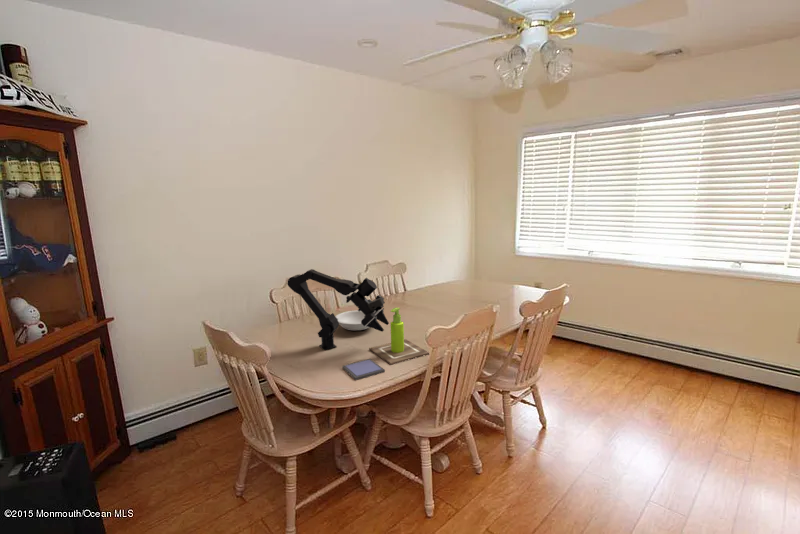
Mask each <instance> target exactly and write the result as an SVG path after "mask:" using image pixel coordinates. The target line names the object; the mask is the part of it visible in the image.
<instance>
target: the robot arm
mask: <svg viewBox="0 0 800 534" xmlns="http://www.w3.org/2000/svg"><path fill="white" fill-rule="evenodd" d="M309 280H312V281H313V282H317V283H320V284H322V285H325V286H327V287H330V288H332V289H334V290H335V291H336V292H337V293H339V294H341V295H343V296H346V297H345V298H346V302H345V303H347V304H348V303H349V302H352V304H354V306H356V308H358V309H357V310H358V311H361V312H362V313H363V314H364V315H365V316H364V318H363V319H362V321H361V324H362V325H363V326H365V325H366V324H367V325H366V327H367V326H368V327H369V328H371V329H375V330H377V331H379V332H382V333H383V332H384V331H385V329H384V328H383V327H382V325H381V323H382V324H385V325H389V324H390V323H389V321H388V319H387V317H386V315H385V312H384V311H385V307H384V306H385V298H384V297H383V296H381V294H380V295H377V296H376V297H375V299H373V300H372V299H367V298H366V297H370V295H372V294H373V293H374V292H375V291H376V289H378V286H377V284H376V283H375V282H374V281H373V280H371V279H370V278H368V277H365V278H364V279H362V282H360V283H356V282H354V281H353V280H349V279H344V278H336V277H333V276H331V275H327V274H325V273H322V272H320V271H317V270H315V269H313V268H311V269H308V270H307V271H306V272H304V273H302V274H295V275H293V276H291V277H289V278H288V280H287V287H289V289H290V290H292V291H293V292H294V293H296V294H298V295H299V296H300V297H301V298H302V300H304V302H305V303H306V304H307V306H308V308H310V310H311V311H312V312H313V313H314V315H315V316H316V317H317V319H318V322H319V325H320V328H321V330H319V331H318V332H317V336H318V338H320V340H321V341H320V342H321V344H319V348H321V349H322V350H323V351H326V350H330V349H335V348H337V345H336V344H335V339H334V333H335V332H336V330H337V329H338V328H339V327H340V325H339V322H338V319H337V318H336V317H335V316H336V315H335V313H333V312H332V313H331V314H330V313H328V312H327V310H326V309H325V308H324V307H323V306H322V304H321V303H320V302H319V301H318V299H317V298H316V297H315V296H314V294H313V293H312V292H311V290H310V289H309V286H308V282H307V281H309ZM356 291H357V292H356ZM379 321H380V322H381V323H380V322H379Z"/></svg>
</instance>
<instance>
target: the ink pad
mask: <svg viewBox="0 0 800 534" xmlns="http://www.w3.org/2000/svg"><path fill="white" fill-rule="evenodd" d="M341 369H343V370H344V371H345V372H346V373H347V374H348V375H349V374H350V376H351V377H352V378H353V380H355V381H357V380H361V379H365V378H368V377H373V376H375V375H380V374H383V373H385V372H386V370H385V368H384V367H382V366H381V365H379V364H378V363H376V361H374V360H372V359H371V358H367V359H364V360H360V361H356V362H353V363H348V364H345V365H342V368H341Z"/></svg>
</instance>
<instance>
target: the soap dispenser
mask: <svg viewBox="0 0 800 534" xmlns="http://www.w3.org/2000/svg"><path fill="white" fill-rule="evenodd" d="M400 310H401V307H393V308H392V309H391V310H390V313H394V314H392V315H393V316H392V319H393V321H391V322H390V343H391V351H392V352H395V353H400V352H403V351H404V339H405V334H404V333H405V332H404V331H405V328H404V325H405V324H404V322H403V321H401V319H402V318H401V317H402V316H401V314H400V313H399V312H400Z"/></svg>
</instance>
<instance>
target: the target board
mask: <svg viewBox="0 0 800 534" xmlns="http://www.w3.org/2000/svg"><path fill="white" fill-rule="evenodd" d="M368 349H369V351H371V352H372V353H373V354H375V355H376V356H378V357H379V358H380V359H382V360H384V361H385V362H386V363H388V364H389V365H390V364H392V365H396V364H399V363H402V361H403V362H406V361H405V360H407V361H409V360H408V359H410V360H413V359H412V358H414V359H416V358H415V357H417V358H420V357H419V356H421V357H424V356H423V355H425V356H428V355H430V352H429V351H428V350H425V349H424V348H422V347H420V346H418V345H417V344H415V343H414V342H412V341H410V340H408V339H406V338H404V351H403V352H400V353H395V352H392V351H391V342H389V343H384V344H383V343H382V344H380V345H376V346H372V347H369V348H368ZM395 363H396V364H395Z"/></svg>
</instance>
